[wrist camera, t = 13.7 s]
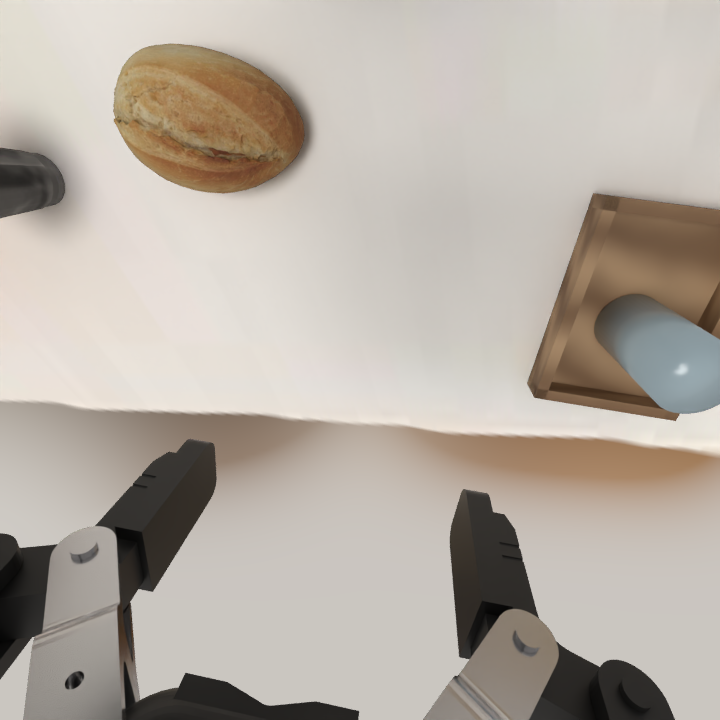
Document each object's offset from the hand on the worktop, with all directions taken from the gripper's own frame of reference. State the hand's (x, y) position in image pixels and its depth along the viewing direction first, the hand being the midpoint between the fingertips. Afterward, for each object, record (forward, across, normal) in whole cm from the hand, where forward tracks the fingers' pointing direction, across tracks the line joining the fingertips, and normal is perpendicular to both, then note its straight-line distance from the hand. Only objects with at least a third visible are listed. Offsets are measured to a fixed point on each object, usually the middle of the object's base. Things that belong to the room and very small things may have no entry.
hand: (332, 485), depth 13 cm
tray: (+28, -22, 0) cm, 36 cm away
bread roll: (+28, +16, -10) cm, 34 cm away
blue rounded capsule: (+27, -22, +1) cm, 35 cm away
